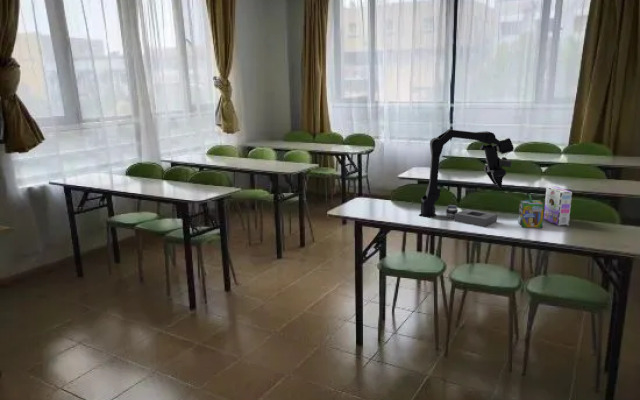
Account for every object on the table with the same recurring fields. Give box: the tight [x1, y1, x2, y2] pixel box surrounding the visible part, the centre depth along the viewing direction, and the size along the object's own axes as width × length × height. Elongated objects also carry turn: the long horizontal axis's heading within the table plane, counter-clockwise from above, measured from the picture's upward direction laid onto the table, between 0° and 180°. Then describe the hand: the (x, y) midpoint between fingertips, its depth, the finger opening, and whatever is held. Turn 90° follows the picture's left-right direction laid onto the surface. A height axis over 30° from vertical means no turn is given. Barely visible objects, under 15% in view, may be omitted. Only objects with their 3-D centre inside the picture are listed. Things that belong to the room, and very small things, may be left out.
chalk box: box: [517, 193, 545, 229], centre depth 232 cm, size 9×9×15 cm
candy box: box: [543, 186, 573, 227], centre depth 236 cm, size 14×6×16 cm, turn 3°
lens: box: [445, 204, 459, 220], centre depth 249 cm, size 6×6×6 cm
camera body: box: [454, 208, 498, 228], centre depth 240 cm, size 16×12×4 cm
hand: (497, 186), depth 247 cm, fingers open, 9 cm apart
